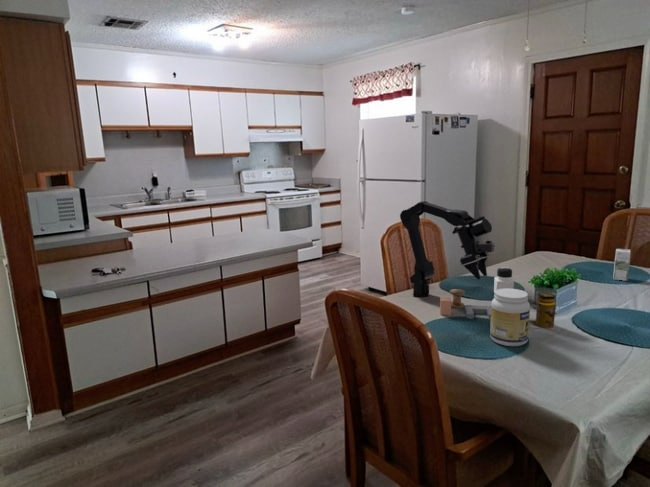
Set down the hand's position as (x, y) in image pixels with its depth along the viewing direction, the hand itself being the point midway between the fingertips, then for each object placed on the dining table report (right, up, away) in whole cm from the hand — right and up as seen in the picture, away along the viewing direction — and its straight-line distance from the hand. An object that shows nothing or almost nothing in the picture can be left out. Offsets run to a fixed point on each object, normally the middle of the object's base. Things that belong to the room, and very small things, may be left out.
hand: (482, 277), depth 178 cm
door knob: (-7, -13, +9) cm, 17 cm away
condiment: (+17, -17, -13) cm, 27 cm away
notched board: (-2, -15, -1) cm, 15 cm away
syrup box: (+79, -4, +36) cm, 87 cm away
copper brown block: (-14, -15, +2) cm, 20 cm away
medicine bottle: (+17, -9, +21) cm, 28 cm away
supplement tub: (0, -20, -24) cm, 31 cm away
